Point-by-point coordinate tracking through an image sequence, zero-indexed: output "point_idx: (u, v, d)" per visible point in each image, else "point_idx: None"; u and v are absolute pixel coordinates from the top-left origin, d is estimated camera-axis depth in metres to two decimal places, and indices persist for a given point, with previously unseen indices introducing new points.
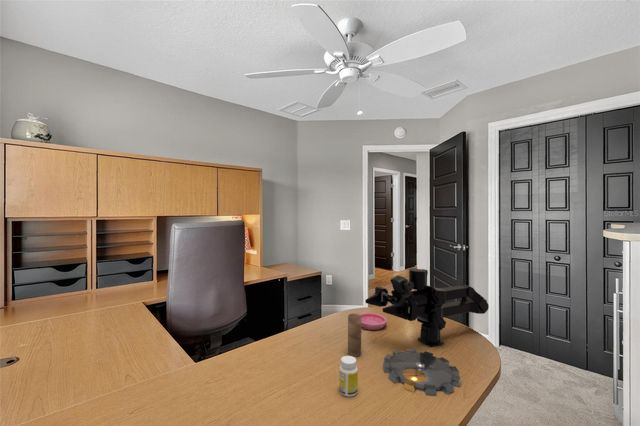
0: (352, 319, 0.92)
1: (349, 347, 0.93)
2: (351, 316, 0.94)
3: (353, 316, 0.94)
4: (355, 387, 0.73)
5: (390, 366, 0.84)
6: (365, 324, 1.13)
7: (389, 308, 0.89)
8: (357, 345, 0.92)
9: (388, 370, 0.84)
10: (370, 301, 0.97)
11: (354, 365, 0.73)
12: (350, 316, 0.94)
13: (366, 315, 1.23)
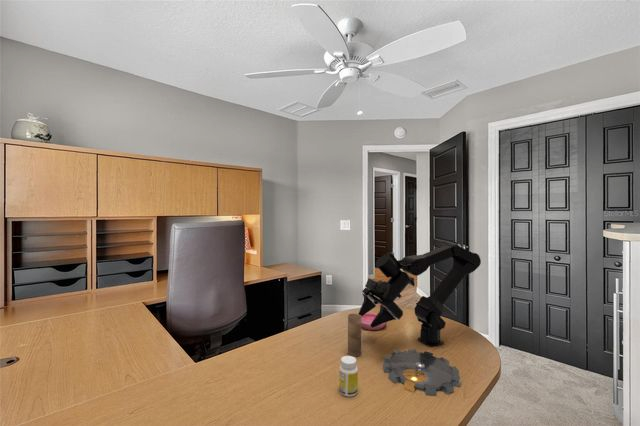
0: (352, 319, 0.92)
1: (349, 347, 0.93)
2: (351, 316, 0.94)
3: (353, 316, 0.94)
4: (355, 387, 0.73)
5: (390, 366, 0.84)
6: (365, 324, 1.13)
7: (375, 321, 0.91)
8: (357, 345, 0.92)
9: (388, 370, 0.84)
10: (362, 312, 1.00)
11: (354, 365, 0.73)
12: (350, 316, 0.94)
13: (366, 315, 1.23)
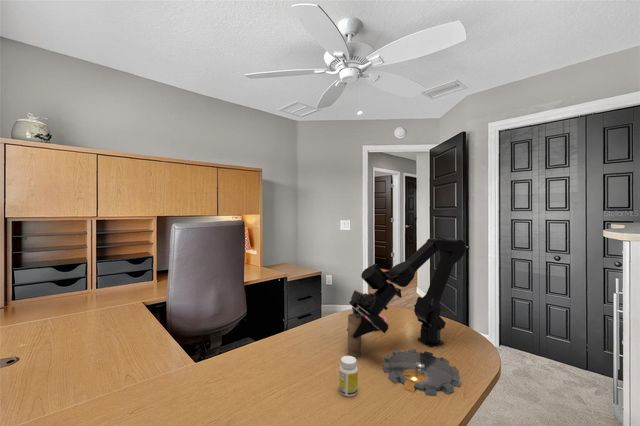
0: (352, 319, 0.92)
1: (349, 347, 0.93)
2: (351, 316, 0.94)
3: (353, 316, 0.94)
4: (355, 387, 0.73)
5: (390, 366, 0.84)
6: None
7: (357, 332, 0.91)
8: (357, 345, 0.92)
9: (388, 370, 0.84)
10: None
11: (354, 365, 0.73)
12: (350, 316, 0.94)
13: None
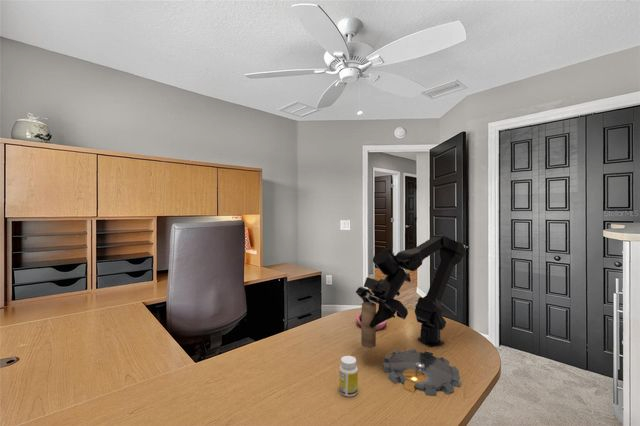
0: (368, 308, 0.86)
1: (364, 338, 0.87)
2: (365, 305, 0.88)
3: (367, 304, 0.88)
4: (355, 387, 0.73)
5: (390, 366, 0.84)
6: None
7: (374, 321, 0.85)
8: (373, 334, 0.87)
9: (388, 370, 0.84)
10: None
11: (354, 365, 0.73)
12: (364, 305, 0.88)
13: None
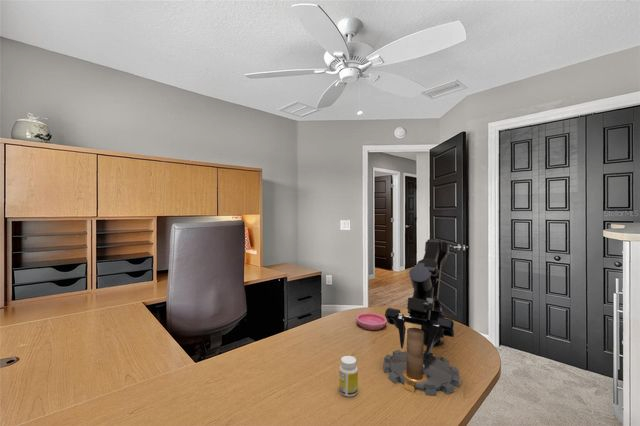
0: (419, 335, 0.77)
1: (415, 370, 0.77)
2: (414, 332, 0.78)
3: (415, 332, 0.79)
4: (355, 387, 0.73)
5: (390, 366, 0.84)
6: (365, 324, 1.13)
7: (430, 346, 0.77)
8: None
9: (388, 370, 0.84)
10: (403, 341, 0.81)
11: (354, 365, 0.73)
12: (413, 333, 0.78)
13: (366, 315, 1.23)
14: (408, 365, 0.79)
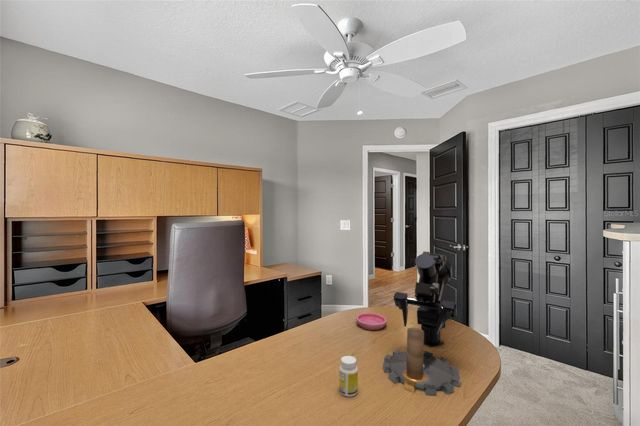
0: (420, 335, 0.77)
1: (415, 370, 0.77)
2: (414, 332, 0.78)
3: (415, 331, 0.79)
4: (355, 387, 0.73)
5: (390, 366, 0.84)
6: (365, 324, 1.13)
7: (439, 327, 0.85)
8: None
9: (388, 370, 0.84)
10: (406, 320, 0.90)
11: (354, 365, 0.73)
12: (414, 332, 0.78)
13: (366, 315, 1.23)
14: (408, 365, 0.79)
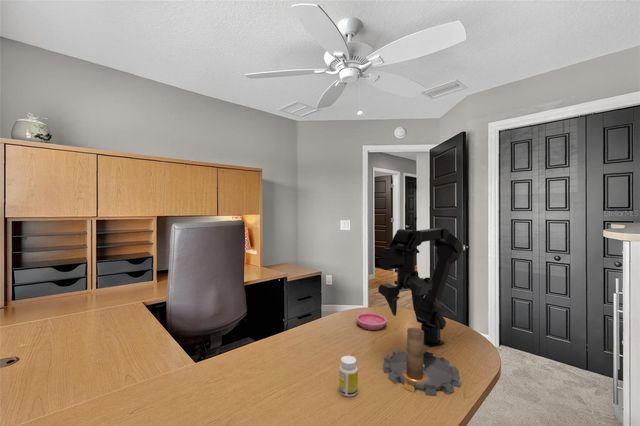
0: (420, 335, 0.77)
1: (415, 370, 0.77)
2: (414, 332, 0.78)
3: (415, 331, 0.79)
4: (355, 387, 0.73)
5: (390, 366, 0.84)
6: (365, 324, 1.13)
7: None
8: None
9: (388, 370, 0.84)
10: None
11: (354, 365, 0.73)
12: (414, 332, 0.78)
13: (366, 315, 1.23)
14: (408, 365, 0.79)
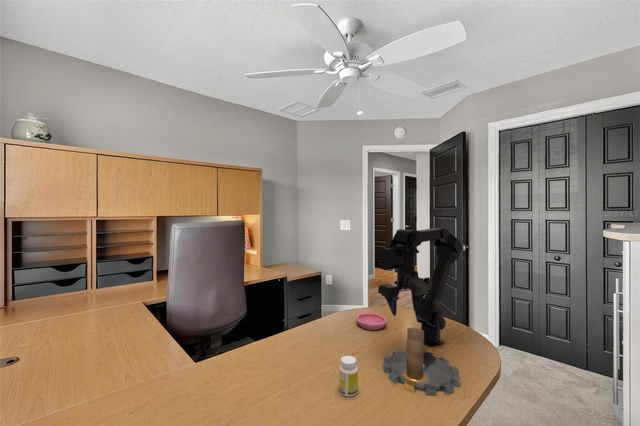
0: (420, 335, 0.77)
1: (415, 370, 0.77)
2: (414, 332, 0.78)
3: (415, 331, 0.79)
4: (355, 387, 0.73)
5: (390, 366, 0.84)
6: (365, 324, 1.13)
7: None
8: None
9: (388, 370, 0.84)
10: None
11: (354, 365, 0.73)
12: (414, 332, 0.78)
13: (366, 315, 1.23)
14: (408, 365, 0.79)
